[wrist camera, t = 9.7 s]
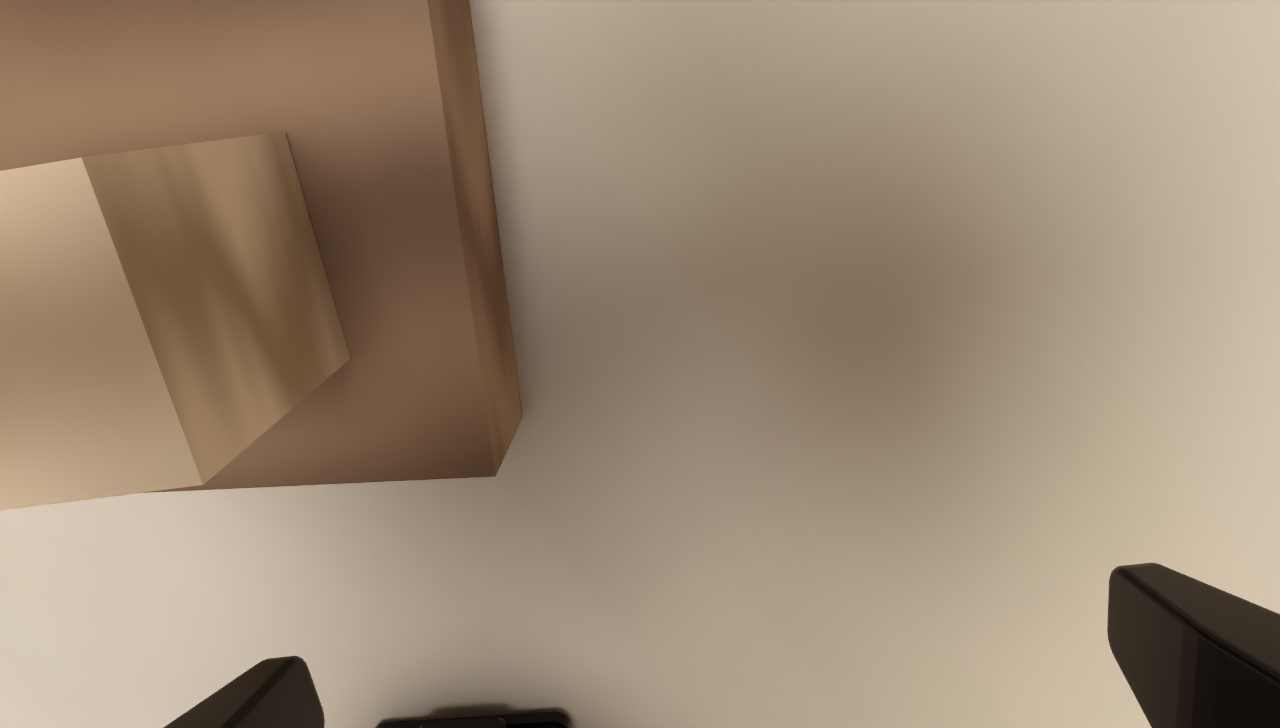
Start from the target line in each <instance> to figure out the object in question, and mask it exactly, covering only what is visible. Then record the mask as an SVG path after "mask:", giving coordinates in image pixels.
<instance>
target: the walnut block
mask: <svg viewBox="0 0 1280 728" xmlns="http://www.w3.org/2000/svg"><path fill="white" fill-rule="evenodd" d="M284 131H285V134H286V137H287V141H288V144H289V147H290V151H291V154H292V158H293V161H294V165H295V168H296V172H297V175H298V179H299V182H300V186H301V189H302V193H303V196H304V200H305V203H306V207H307V210H308V213H309V217H310V220H311V224H312V227H313V231H314V234H315V238H316V241H317V245H318V248H319V252H320V255H321V259H322V262H323V266H324V269H325V273H326V276H327V279H328V283H329V286H330V290H331V293H332V297H333V300H334V304H335V307H336V311H337V314H338V318H339V321H340V325H341V328H342V332H343V335H344V339H345V342H346V345H347V349H348V352H349V356H350V359H349V360H348V361H347V362H346V363H345V364H344V365H342V366H341V367H340V368H339V369H338V370H337V371H335V372H334V373H333V374H332V375H331V376H330V377H328V378H327V379H326V380H325V381H324V382H323V383H322V384H320V385H319V386H318V387H317V388H316V389H315V390H313V391H312V392H311V393H310V394H309V395H308V396H306V397H305V398H304V399H303V400H302V401H301V402H299V403H298V404H297V405H296V406H295V407H294V408H292V409H291V410H290V411H289V412H288V413H287V414H285V415H284V416H283V417H282V418H281V419H280V420H278V421H277V422H276V423H275V424H274V425H273V426H271V427H270V428H269V429H268V430H267V431H266V432H264V433H263V434H262V435H261V436H260V437H259V438H257V439H256V440H255V441H254V442H253V443H252V444H250V445H249V446H248V447H247V448H246V449H245V450H243V451H242V452H241V453H240V454H239V455H238V456H236V457H235V458H234V459H233V460H232V461H231V462H229V463H228V464H227V465H226V466H225V467H224V468H222V469H221V470H220V471H219V472H218V473H217V474H215V475H214V476H213V477H212V478H211V479H210V480H208V481H207V482H206V483H205V484H204V485H199V486H191V487H183V488H175V489H167V490H159V491H151V492H169V491H191V490H212V489H234V488H255V487H276V486H298V485H319V484H341V483H362V482H384V481H405V480H427V479H448V478H470V477H491V476H496V474H497V472H498V470H499V467H500V465H501V463H502V461H503V459H504V456H505V454H506V452H507V450H508V448H509V445H510V443H511V441H512V439H513V437H514V434H515V432H516V430H517V428H518V426H519V424H520V421H521V419H522V411H521V403H520V395H519V388H518V380H517V372H516V364H515V356H514V349H513V341H512V333H511V325H510V317H509V310H508V302H507V294H506V286H505V278H504V270H503V263H502V255H501V247H500V239H499V231H498V224H497V216H496V208H495V200H494V192H493V184H492V177H491V169H490V161H489V153H488V145H487V138H486V130H485V122H484V114H483V106H482V99H481V91H480V83H479V75H478V67H477V59H476V52H475V44H474V36H473V28H472V20H471V13H470V5H469V0H0V171H3V170H9V169H15V168H21V167H27V166H33V165H39V164H45V163H51V162H57V161H63V160H69V159H75V158H81V157H89V156H97V155H105V154H113V153H120V152H128V151H136V150H144V149H151V148H159V147H167V146H175V145H183V144H190V143H198V142H206V141H214V140H222V139H229V138H237V137H245V136H253V135H261V134H268V133H276V132H284ZM143 493H148V492H143Z"/></svg>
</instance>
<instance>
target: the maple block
mask: <svg viewBox="0 0 1280 728" xmlns="http://www.w3.org/2000/svg"><path fill="white" fill-rule="evenodd" d="M349 359H350V356H349V352H348V349H347V345H346V342H345V339H344V335H343V332H342V328H341V325H340V321H339V318H338V314H337V311H336V307H335V304H334V300H333V297H332V293H331V290H330V286H329V283H328V279H327V276H326V273H325V269H324V266H323V262H322V259H321V255H320V252H319V248H318V245H317V241H316V238H315V234H314V231H313V227H312V224H311V220H310V217H309V213H308V210H307V207H306V203H305V200H304V196H303V193H302V189H301V186H300V182H299V179H298V175H297V172H296V168H295V165H294V161H293V158H292V154H291V151H290V147H289V144H288V141H287V137H286V134H285V131H284V132H276V133H268V134H261V135H253V136H245V137H237V138H229V139H222V140H214V141H206V142H198V143H190V144H183V145H175V146H167V147H159V148H151V149H144V150H136V151H128V152H120V153H113V154H105V155H97V156H89V157H81V158H75V159H69V160H63V161H57V162H51V163H45V164H39V165H33V166H27V167H21V168H15V169H9V170H3V171H0V510H7V509H15V508H23V507H31V506H39V505H47V504H55V503H63V502H71V501H79V500H87V499H95V498H103V497H111V496H119V495H127V494H135V493H143V492H151V491H159V490H167V489H175V488H183V487H191V486H199V485H204V484H205V483H206V482H207V481H208V480H210V479H211V478H212V477H213V476H214V475H215V474H217V473H218V472H219V471H220V470H221V469H222V468H224V467H225V466H226V465H227V464H228V463H229V462H231V461H232V460H233V459H234V458H235V457H236V456H238V455H239V454H240V453H241V452H242V451H243V450H245V449H246V448H247V447H248V446H249V445H250V444H252V443H253V442H254V441H255V440H256V439H257V438H259V437H260V436H261V435H262V434H263V433H264V432H266V431H267V430H268V429H269V428H270V427H271V426H273V425H274V424H275V423H276V422H277V421H278V420H280V419H281V418H282V417H283V416H284V415H285V414H287V413H288V412H289V411H290V410H291V409H292V408H294V407H295V406H296V405H297V404H298V403H299V402H301V401H302V400H303V399H304V398H305V397H306V396H308V395H309V394H310V393H311V392H312V391H313V390H315V389H316V388H317V387H318V386H319V385H320V384H322V383H323V382H324V381H325V380H326V379H327V378H328V377H330V376H331V375H332V374H333V373H334V372H335V371H337V370H338V369H339V368H340V367H341V366H342V365H344V364H345V363H346V362H347V361H348V360H349Z"/></svg>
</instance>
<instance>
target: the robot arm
mask: <svg viewBox="0 0 1280 728" xmlns="http://www.w3.org/2000/svg"><path fill="white" fill-rule="evenodd" d="M1107 630H1108V640H1109V644H1110V647H1111V650H1112V653H1113V655H1114V657H1115V659H1116V661H1117V663H1118V665H1119V667H1120V668H1121V670H1122V672H1123V674H1124V676H1125V678H1126V680H1127V682H1128V684H1129V685H1130V687H1131V689H1132V691H1133V693H1134V695H1135V697H1136V699H1137V701H1138V703H1139V704H1140V706H1141V708H1142V710H1143V712H1144V714H1145V716H1146V718H1147V720H1148V722H1149V723H1150V725H1151V727H1152V728H1280V614H1278V613H1275V612H1273V611H1271V610H1268V609H1266V608H1263V607H1261V606H1258V605H1256V604H1254V603H1251V602H1249V601H1246V600H1244V599H1242V598H1239V597H1237V596H1234V595H1232V594H1230V593H1227V592H1225V591H1222V590H1220V589H1217V588H1215V587H1213V586H1210V585H1208V584H1205V583H1203V582H1201V581H1198V580H1196V579H1193V578H1191V577H1189V576H1186V575H1184V574H1181V573H1179V572H1176V571H1174V570H1172V569H1169V568H1167V567H1164V566H1162V565H1159V564H1156V563H1144V564H1135V565H1126V566H1118V567H1116V568H1115V569H1114V570H1113V571H1112V573H1111V575H1110V580H1109V600H1108V627H1107ZM164 728H324V713H323V709H322V706H321V703H320V700H319V697H318V695H317V692H316V689H315V686H314V683H313V680H312V678H311V675H310V672H309V669H308V667H307V664H306V662H305V661H304V660H303V659H302V658H300V657H298V656H289V657H280V658H271V659H266V660H263V661H261V662H260V663H258V664H257V665H255V666H254V667H252V668H251V669H249V670H248V671H246V672H245V673H243V674H242V675H240V676H239V677H237V678H236V679H234V680H233V681H232V682H230V683H229V684H227V685H226V686H224V687H223V688H221V689H220V690H218V691H217V692H215V693H214V694H212V695H211V696H209V697H208V698H206V699H205V700H204V701H202V702H201V703H199V704H198V705H196V706H195V707H193V708H192V709H190V710H189V711H187V712H186V713H184V714H183V715H181V716H180V717H178V718H177V719H175V720H174V721H173V722H171V723H170V724H168V725H167V726H165V727H164ZM375 728H572V725H571V722H570V719H569V718H568V717H567V716H566V715H564V714H562V713H560V712H545V713H529V714H514V715H498V716H483V717H468V718H452V719H437V720H422V721H406V722H391V723H382V724H379V725H378V726H376V727H375Z"/></svg>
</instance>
